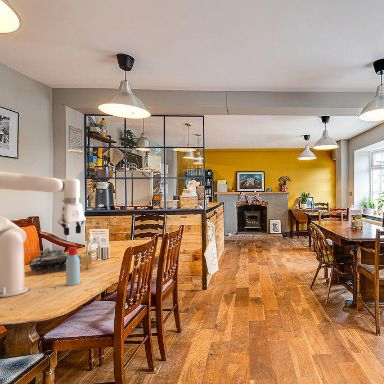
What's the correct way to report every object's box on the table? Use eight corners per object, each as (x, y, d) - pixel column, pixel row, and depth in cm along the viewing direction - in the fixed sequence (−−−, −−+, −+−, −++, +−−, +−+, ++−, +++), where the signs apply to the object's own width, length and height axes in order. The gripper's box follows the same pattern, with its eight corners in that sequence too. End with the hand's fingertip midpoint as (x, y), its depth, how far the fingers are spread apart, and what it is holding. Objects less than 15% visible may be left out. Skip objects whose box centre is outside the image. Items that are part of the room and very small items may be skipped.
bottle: (71, 286, 153) (70, 249, 152) (63, 284, 155) (63, 249, 155) (82, 282, 159) (82, 247, 158) (75, 281, 161) (74, 246, 161)
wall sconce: (94, 270, 182) (94, 231, 181) (77, 272, 179) (77, 232, 178) (99, 265, 195) (98, 228, 195) (83, 266, 192) (82, 229, 191)
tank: (24, 271, 180) (24, 248, 180) (80, 263, 201) (79, 242, 201) (25, 277, 168) (25, 252, 168) (85, 267, 189) (84, 245, 189)
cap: (71, 255, 154) (71, 248, 154) (66, 254, 156) (66, 248, 156) (78, 253, 158) (78, 247, 158) (73, 253, 159) (73, 246, 159)
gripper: (60, 202, 147) (61, 237, 147) (91, 200, 163) (91, 232, 163) (51, 202, 150) (51, 236, 150) (82, 200, 166) (82, 231, 166)
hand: (72, 233), depth 157 cm, fingers open, 5 cm apart
